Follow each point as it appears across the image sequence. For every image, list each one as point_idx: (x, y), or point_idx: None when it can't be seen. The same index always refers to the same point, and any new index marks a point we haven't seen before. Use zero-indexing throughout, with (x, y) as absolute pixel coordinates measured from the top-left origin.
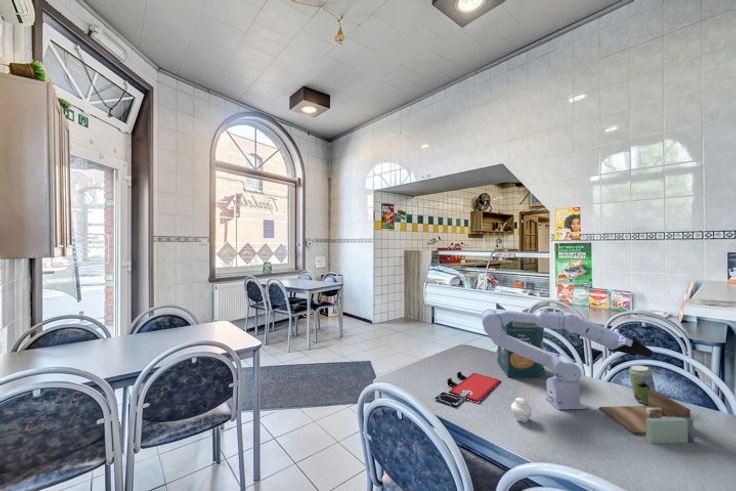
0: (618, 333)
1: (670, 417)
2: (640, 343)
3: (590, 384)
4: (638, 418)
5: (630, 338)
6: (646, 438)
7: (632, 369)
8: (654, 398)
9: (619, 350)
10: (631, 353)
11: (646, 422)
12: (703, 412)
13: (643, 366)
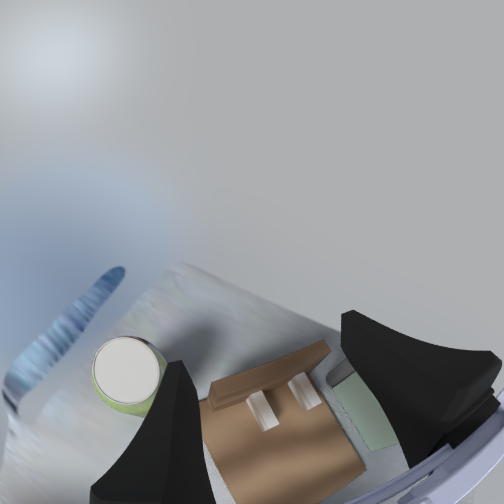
0: (465, 494)
1: (305, 387)
2: (431, 346)
3: (56, 488)
4: (289, 454)
5: (476, 393)
6: (372, 450)
7: (136, 403)
8: (240, 393)
9: (206, 482)
10: (197, 408)
11: (397, 443)
12: (175, 292)
13: (109, 345)
